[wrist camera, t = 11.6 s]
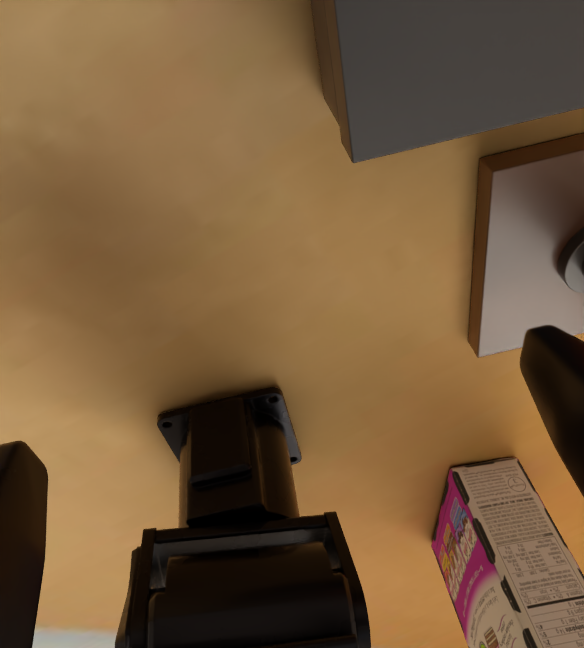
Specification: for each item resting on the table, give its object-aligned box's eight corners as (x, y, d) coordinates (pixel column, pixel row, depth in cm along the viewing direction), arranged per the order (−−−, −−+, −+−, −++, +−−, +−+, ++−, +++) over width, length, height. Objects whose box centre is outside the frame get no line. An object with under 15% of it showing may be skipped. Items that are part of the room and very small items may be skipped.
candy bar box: (490, 533, 42) (612, 809, 30) (429, 543, 41) (527, 827, 29) (522, 452, 34) (704, 776, 22) (448, 464, 34) (591, 801, 22)
